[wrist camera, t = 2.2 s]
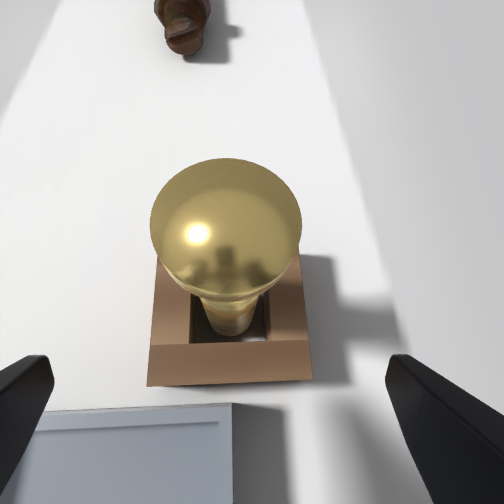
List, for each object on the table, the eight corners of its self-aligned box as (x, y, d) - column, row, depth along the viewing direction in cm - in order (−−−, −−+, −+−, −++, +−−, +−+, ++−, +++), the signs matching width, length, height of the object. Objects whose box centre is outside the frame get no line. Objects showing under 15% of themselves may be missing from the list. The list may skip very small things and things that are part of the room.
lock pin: (264, 345, 19) (309, 290, 8) (197, 348, 18) (142, 294, 7) (260, 281, 20) (294, 158, 9) (198, 283, 20) (156, 157, 9)
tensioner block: (300, 380, 18) (312, 379, 15) (160, 386, 17) (146, 386, 15) (288, 252, 21) (297, 233, 18) (169, 254, 20) (159, 234, 18)
